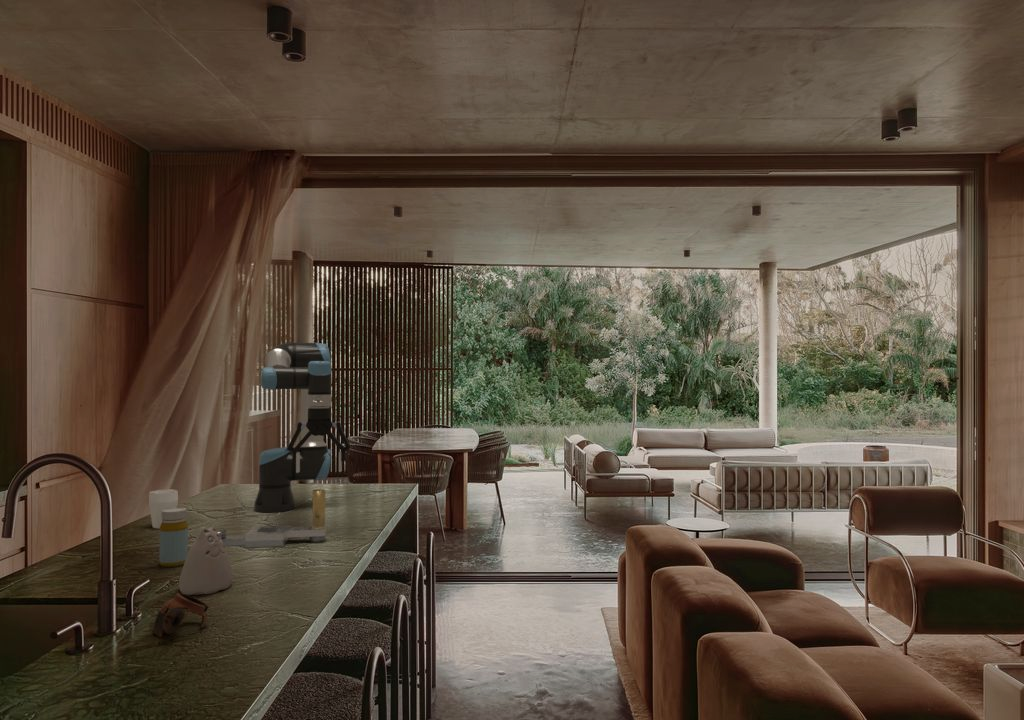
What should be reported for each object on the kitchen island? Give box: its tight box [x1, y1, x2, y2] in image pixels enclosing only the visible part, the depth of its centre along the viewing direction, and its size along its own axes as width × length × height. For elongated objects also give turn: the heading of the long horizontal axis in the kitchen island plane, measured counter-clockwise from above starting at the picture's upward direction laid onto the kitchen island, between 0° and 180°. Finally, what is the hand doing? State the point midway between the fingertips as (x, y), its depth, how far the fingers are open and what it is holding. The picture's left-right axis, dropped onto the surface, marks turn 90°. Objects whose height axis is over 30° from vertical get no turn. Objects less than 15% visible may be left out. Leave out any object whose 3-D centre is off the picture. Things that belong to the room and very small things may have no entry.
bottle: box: [158, 507, 189, 568], centre depth 190 cm, size 7×7×15 cm
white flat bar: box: [215, 524, 328, 549], centre depth 214 cm, size 11×35×4 cm, turn 99°
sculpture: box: [178, 526, 233, 596], centre depth 170 cm, size 13×12×15 cm
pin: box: [312, 488, 326, 527], centre depth 227 cm, size 4×4×14 cm
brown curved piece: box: [152, 592, 209, 638], centre depth 141 cm, size 12×10×8 cm
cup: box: [148, 488, 179, 530], centre depth 236 cm, size 9×9×12 cm
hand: (319, 471), depth 227 cm, fingers open, 13 cm apart
